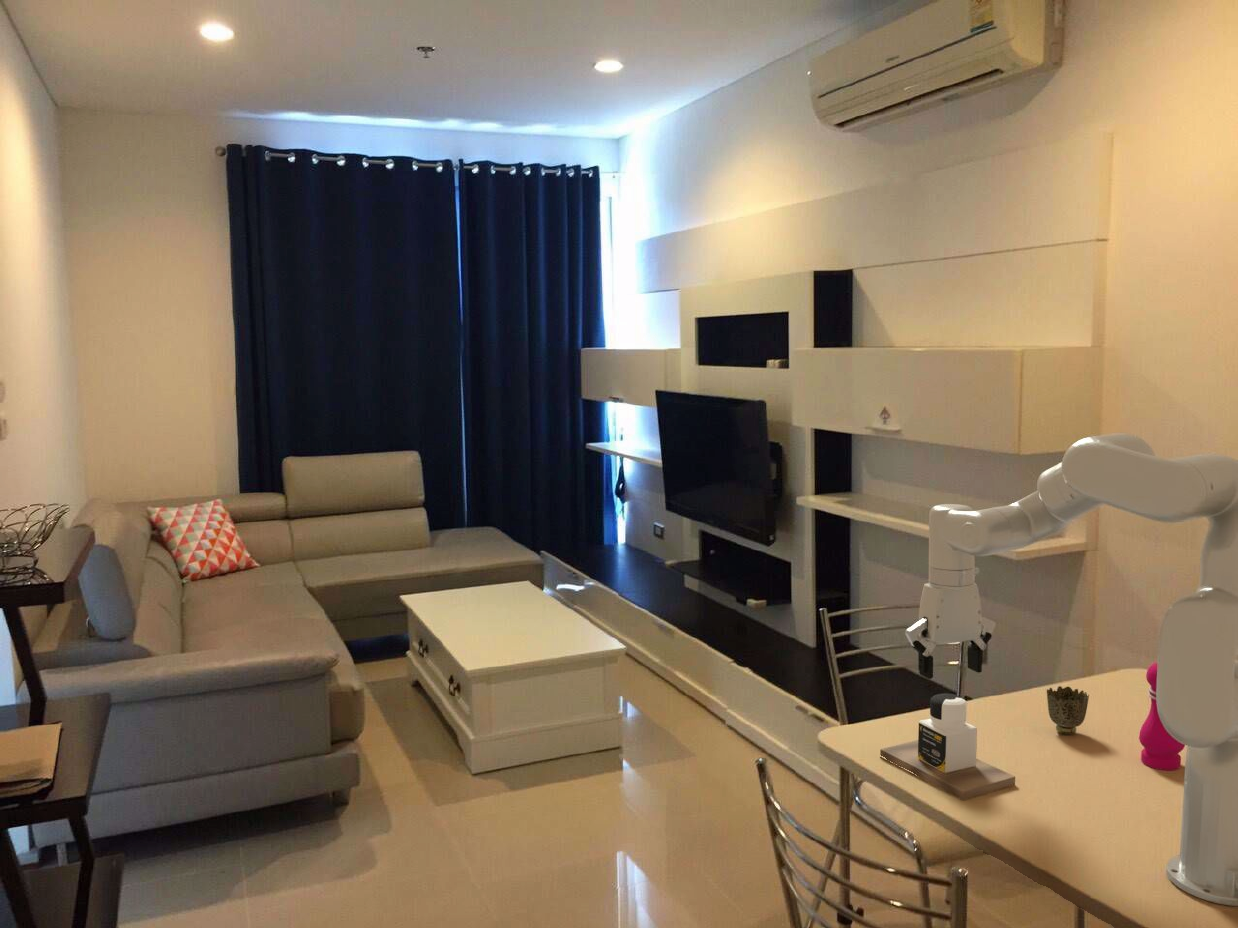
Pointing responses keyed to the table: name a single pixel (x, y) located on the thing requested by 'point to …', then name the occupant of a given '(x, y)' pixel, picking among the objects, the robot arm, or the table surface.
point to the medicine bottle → (947, 735)
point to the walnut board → (950, 773)
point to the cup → (1067, 708)
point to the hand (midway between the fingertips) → (950, 673)
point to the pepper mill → (1158, 734)
